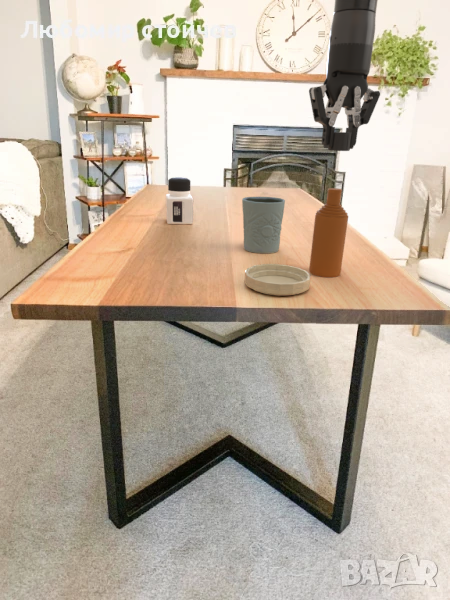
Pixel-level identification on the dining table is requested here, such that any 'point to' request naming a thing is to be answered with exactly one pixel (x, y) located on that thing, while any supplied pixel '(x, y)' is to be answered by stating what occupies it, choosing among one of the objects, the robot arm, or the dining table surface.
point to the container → (179, 202)
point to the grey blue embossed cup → (262, 223)
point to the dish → (277, 279)
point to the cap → (341, 141)
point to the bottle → (329, 237)
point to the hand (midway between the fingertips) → (338, 147)
